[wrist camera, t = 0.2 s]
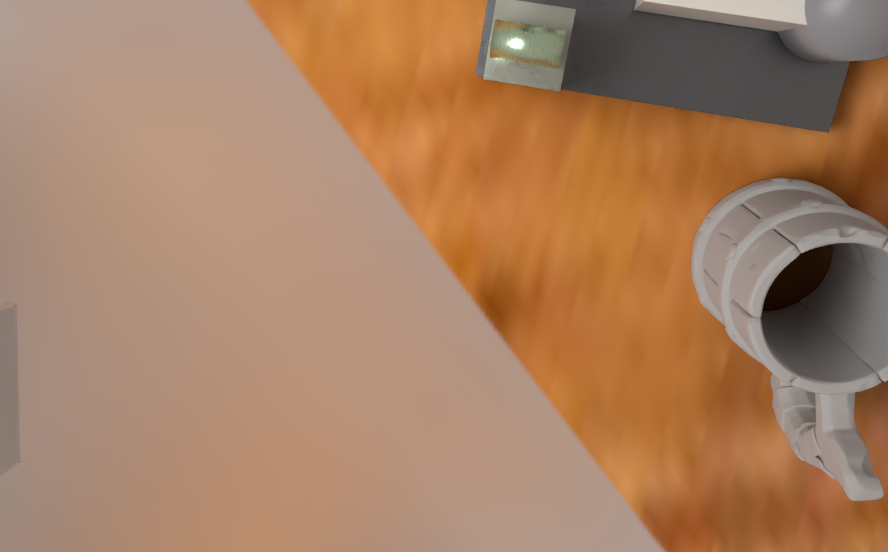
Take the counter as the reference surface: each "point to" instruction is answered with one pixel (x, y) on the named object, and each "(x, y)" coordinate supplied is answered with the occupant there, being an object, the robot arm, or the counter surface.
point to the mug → (803, 313)
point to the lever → (797, 23)
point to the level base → (657, 60)
